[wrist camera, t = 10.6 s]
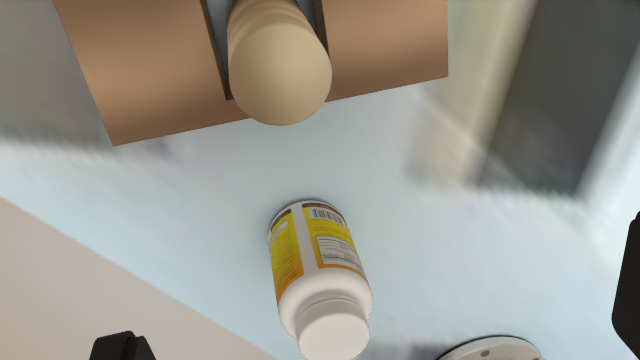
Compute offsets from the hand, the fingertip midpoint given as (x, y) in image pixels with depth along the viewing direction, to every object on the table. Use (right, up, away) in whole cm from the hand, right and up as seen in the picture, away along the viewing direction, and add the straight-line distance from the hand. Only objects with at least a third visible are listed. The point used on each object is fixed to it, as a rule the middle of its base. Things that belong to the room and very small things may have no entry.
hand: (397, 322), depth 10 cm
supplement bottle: (-2, -1, +27) cm, 27 cm away
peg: (-5, +12, +19) cm, 22 cm away
